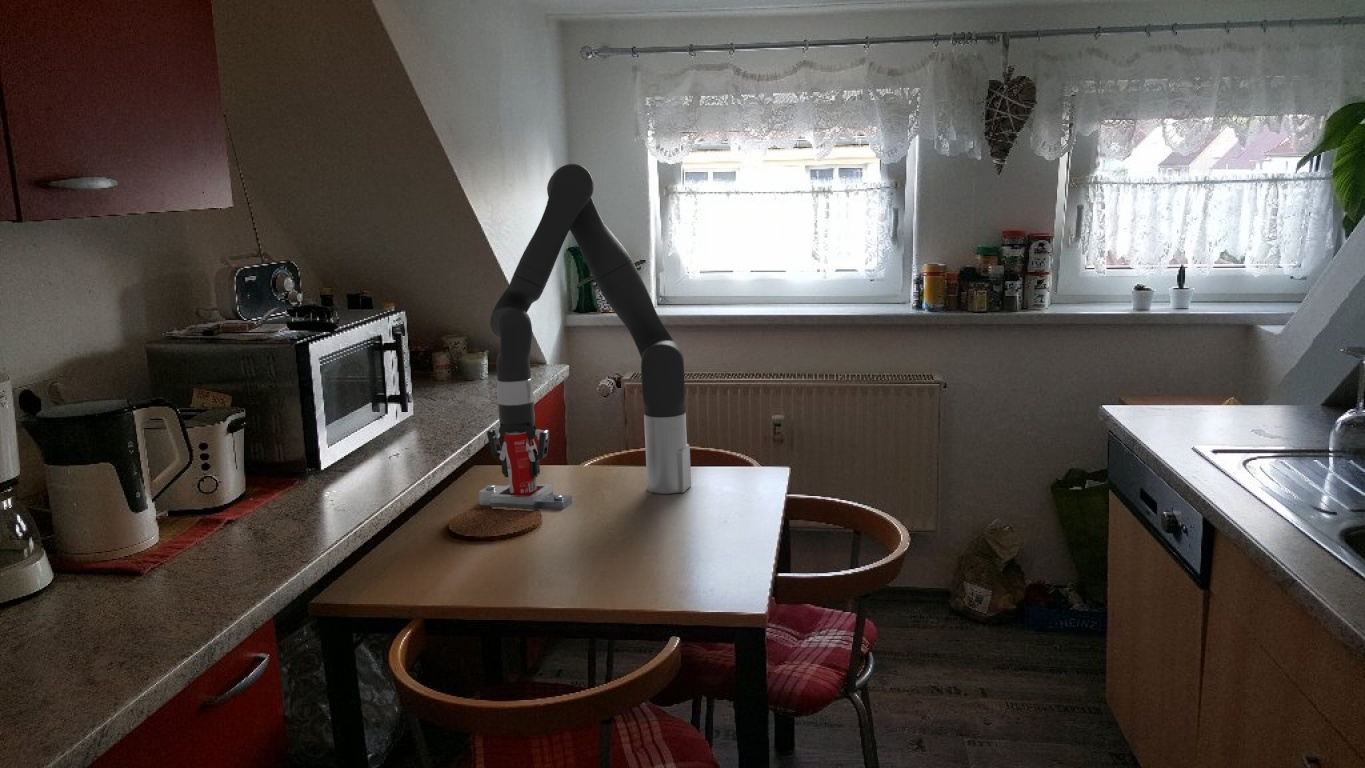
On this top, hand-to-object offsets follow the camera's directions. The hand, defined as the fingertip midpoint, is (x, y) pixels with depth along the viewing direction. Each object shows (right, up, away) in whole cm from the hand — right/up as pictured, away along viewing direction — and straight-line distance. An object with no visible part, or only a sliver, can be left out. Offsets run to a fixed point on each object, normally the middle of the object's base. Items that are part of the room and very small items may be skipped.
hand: (521, 476), depth 210 cm
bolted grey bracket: (0, -6, +1) cm, 6 cm away
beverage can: (0, -5, +1) cm, 5 cm away
